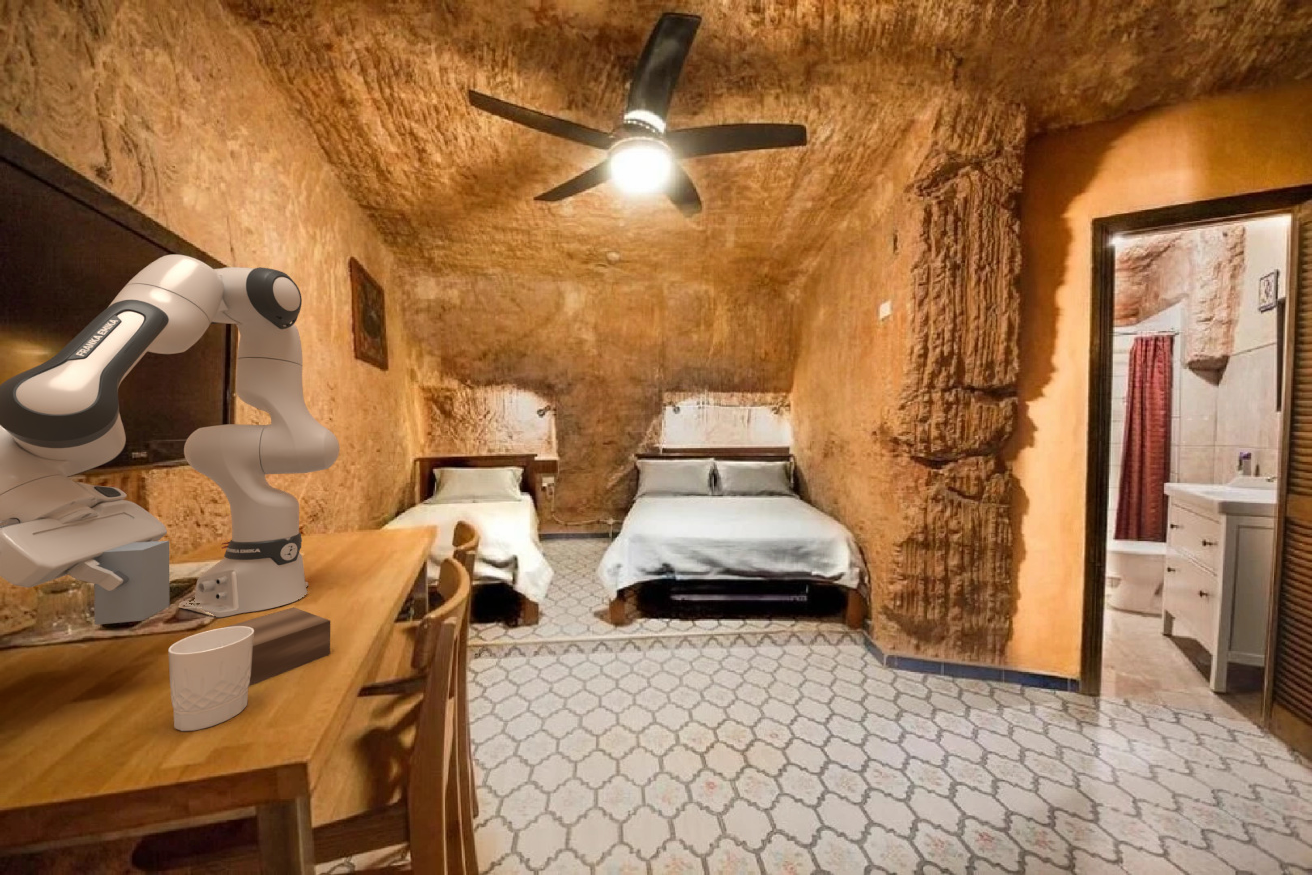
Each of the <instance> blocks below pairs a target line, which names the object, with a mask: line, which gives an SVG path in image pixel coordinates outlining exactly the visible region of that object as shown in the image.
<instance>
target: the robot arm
mask: <svg viewBox="0 0 1312 875" xmlns="http://www.w3.org/2000/svg"><path fill="white" fill-rule="evenodd" d="M302 302H303V301H302V294H301V291H300V288H299V286H298V285H297V284H296V282H295V281H294V280H293V279H292V278H291V277H290V276H289V275H288V274H287V273H285V272H284V271H281V270H278V269H274V268H269V267H259V266H258V267H255V268H252V267H242V266H241V267H240V266H239V267H238V266H237V267H236V266H233V267H232V266H231V267H230V266H229V267H227V266H225V267H222V268H213V267H212V266H209V265H208V264H206V263H205V262H204V261H202V260H199V259H197V258H194V257H192V256H189V255H183V254H167V255H163V256H161V257H159V258H157V259H156V260H154V261H153V262H150V263H149V264H148V265H146V267H144V268H143V269H141V270H140V271H139V272H138V273H137V274H136V275H135V276H133V277H132V278H131V279H130V280H129V281H128V282H127V283H126V284H125V285H124V287H123V288H122V289H121V290H120V291H119V292H118V294H117V295H116V296H115V297H114V299H113V300H112V301H111V303H110V304H109V305H108V307H106V308H105V309H104V310H103V311H102V312H100V313H99V314H98V315H97V316H95V318H93V319H92V320H91V321H90V322H89V323H88V324H87V325H86V326H85V327H84V328H83V329H82V330H81V331H80V332H79V333H77V335H75V337H74V338H72V340H70V341H69V342H68V343H67V344H66V345H65V346H64V347H63V348H62V349H61V350H60V351H58V352H57V353H56V354H55V355H54V356H52V357H51V358H50V359H48V360H46V361H45V362H42V363H40V364H39V365H37V366H35V367H32V368H30V369H27V370H25V371H23V372H20V373H18V374H16V375H14V376H12V377H10V378H8V379H7V380H5V381H4V382H2V383H1V384H0V577H1V578H2V579H4V580H5V581H6V582H8V583H10V584H11V585H13V586H18V587H22V588H33V587H35V586H39V585H42V584H45V583H49V582H50V581H53V580H56V579H61V578H63V577H66V576H70V577H72V578H74V579H75V580H77V581H81V582H86V583H90V584H98V585H100V586H101V587H103V588H104V589H106V590H108V591H111V590H114V589H116V588H119V587H121V586H122V585H124V583H126V582H127V581H128V580H129V577H128V576H126V575H124V574H123V573H122V572H120V571H116V572H112V571H110V570H107V569H104V568H102V567H99V566H98V565H99V564H100V563H98V562H97V561H95V560H94V558H95V557H98V556H101V555H102V554H103V552H105V551H108V550H111V549H114V548H117V547H121V546H124V545H127V544H130V543H134V542H155V541H161V539H162V538H163V537H164V536H166V535H167V534H168V530H167V527H166V525H165V524H164V523H163V522H162V521H160V520H159V519H158V518H157V517H155V516H154V515H153V514H151V513H150V512H149V511H147V510H146V509H145V508H143V507H142V506H140V505H139V504H137V503H136V502H134V501H131V500H126V498H127V493H126V492H124V491H123V490H122V489H120V488H118V487H115V486H104V485H103V486H102V485H95V484H89V483H85V482H81V481H76V482H75V481H73V480H72V479H70V478H71V477H73V476H76V475H79V474H81V473H84V472H85V473H86V472H88V471H91V470H93V469H95V468H97V467H100V466H104V465H106V464H107V463H110V462H111V461H113V460H114V459H116V458H117V457H119V455H121V453H122V452H123V450H124V449H125V446H126V443H127V437H126V432H125V429H124V428H125V427H124V424H123V422H122V418H121V414H120V405H119V394H118V393H119V387H120V385H121V383H122V382H123V381H124V379H125V378H126V377H127V376H128V375H129V373H130V372H131V371H132V370H133V369H134V367H135V366H136V365H137V364H138V363H139V362H140V361H141V359H142V358H143V357H144V356H145V354H146V353H148V352H149V353H154V354H162V355H172V354H173V355H174V354H180V353H185V352H186V351H187V350H189V349H191V347H192V346H194V345H195V344H196V343H197V342H198V341H199V340H200V339H201V338H202V337H203V335H204V334H205V333H206V332H207V330H208V328H209V327H210V325H211V324H212V325H213V324H214V325H215V324H231V325H233V324H234V325H235V326H236V327H237V329H238V331H239V335H240V337H239V341H238V347H237V348H238V349H237V353H236V354H237V356H236V359H237V360H236V374H235V393H236V395H237V396H238V398H239V399H240V400H241V401H242V402H243V403H245V404H246V405H248V406H251V407H253V408H255V409H258V410H260V411H262V412H265V413H268V415H269V416H270V422H271V423H269V424H232V423H231V424H230V423H229V424H221V425H220V424H219V425H212V426H211V425H210V426H203V427H199V428H197V429H196V430H194V431H193V432H192V433H191V434H190V435H189V436H188V437H187V439H186V441H185V442H184V446H183V447H184V448H183V455H184V458H185V461H187V463H188V465H189V466H190V467H191V468H192V469H193V470H195V471H196V472H198V473H200V474H202V475H204V476H206V477H207V478H208V479H210V480H212V481H213V483H215V484H216V485H217V486H218V487H219V488H220V489H221V490H222V492H223V493H224V495H225V497H226V499H227V501H228V504H229V507H230V515H231V516H230V517H231V540H230V541H227V542H222V543H221V545H223V546H222V547H221V549H226V550H225V553H224V555H223V559H221V560H220V561H218V562H217V563H215V565H213V566H212V567H210V568H209V569H208V570H206V571H205V572H203V573H202V574H201V575H200V576H199V577H198V578H197V581H196V584H195V585H196V586H195V592H194V593H195V595H194V596H195V599H194V601H195V602H194V601H191V602H189V601H184V600H182V601H181V602H179V604H181V605H185V606H191V607H202V608H200V609H202V610H204V611H205V612H209V613H211V614H213V615H214V616H216V617H215V618H223V617H229V616H234V615H237V614H242V613H243V614H245V613H250V612H258V611H264V610H269V609H273V608H277V607H280V606H284V605H288V604H292V603H293V602H297V601H298V599H299V600H301V599H303V598H304V597H305V596H304V595H306V594H307V595H308V593H307V592H308V588H307V589H306V587H307V586H308V587H309V582H308V581H306V578H305V577H306V576H305V569H304V561H303V554H301V553H300V550H301V549H302V542H303V538H302V533H301V532H300V502H299V500H298V499H297V498H296V497H295V496H294V495H293V494H291V493H289V492H287V491H285V490H282V489H279V488H275V487H273V486H272V485H270V483H269V482H268V480H267V478H266V475H283V474H284V475H287V474H289V475H290V474H291V475H292V474H294V475H295V474H309V473H313V472H318V471H319V472H320V471H325V470H328V469H330V468H331V467H332V466H333V465H334V464H335V462H336V461H337V459H338V457H339V454H340V448H341V447H340V442H339V441H338V440H339V439H338V438H337V437H336V435H335V434H334V433H333V431H332V430H329V428H327V427H325V426H324V425H322V424H321V423H320V422H318V421H317V419H315V417H314V416H313V415H312V414H311V413H310V411H309V409H308V407H307V405H306V402H305V399H304V390H303V348H302V347H303V346H302V341H301V337H300V332H299V330H298V328H297V326H296V325H295V323H296V322H297V319H298V316H299V315H300V311H301V309H302V304H303V303H302ZM307 595H306V596H307ZM302 597H303V598H302ZM186 603H187V604H186ZM189 603H200V604H199V605H198V606H197V605H195V606H194V605H193V604H192V605H191V604H189ZM179 604H178V605H179ZM214 616H213V617H214Z"/></svg>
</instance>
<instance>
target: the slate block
mask: <svg viewBox="0 0 1312 875" xmlns="http://www.w3.org/2000/svg"><path fill="white" fill-rule="evenodd" d="M94 560H95V561H97V562H98V563H100V564H99V565H98V566H99V567H102V568H104V569H107V570H110V571H112V572H116V571H120V572H122V573H123V574H124V575H126V576H128V577H129V580H128V581H127V582H126V583H124V585H122V586H121V587H119V588H116V589H114V590H111V591H108V590H106V589H104V588H103V587H101V586H100V585H98V584H94V583H93V584H94V626H96V625H98V626H99V625H105V624H118V623H119V624H120V623H130V622H140V621H142V622H143V621H145V620H147V619H149V618H151V617H152V616H154V615H156V614H158V613H160V612H161V611H163V610H165V609H168V608H169V607H170V540H159V541H155V542H134V543H130V544H127V545H124V546H121V547H117V548H114V549H111V550H108V551H105V552H103V554H102V555H101V556H98V557H95V558H94Z"/></svg>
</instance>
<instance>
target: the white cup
mask: <svg viewBox="0 0 1312 875" xmlns="http://www.w3.org/2000/svg"><path fill="white" fill-rule="evenodd" d="M224 627H225V628H223V627H220V628H214V629H210V630H207V631H202V632H199V633H195V634H193V635H189V636H186V637H185V638H182V639H180V640H178V641H176V642H174V643H173V644H171V645H170V647H169V648H168V649H167V650H168V668H169V669H168V670H169V687H170V699H171V706H172V708H173V710H172V711H173V721H174V722H173V726H174V729H176V730H178V731H180V732H189V731H190V732H191V731H199V730H203V729H206V728H211V727H214V726H216V725H219V724H222V723H224V722H226V721H228V720H230V719H233V717H235V716H237V715H238V714H240V713H241V712H242V711H243V710H244V709H245V708H246V707H247V706H248V696H249V687H250V686H249V683H250V676H251V667H252V653H253V639H254V629H253V628H251V627H246V626H234V627H227V626H224ZM248 686H249V687H248Z"/></svg>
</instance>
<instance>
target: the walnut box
mask: <svg viewBox="0 0 1312 875" xmlns="http://www.w3.org/2000/svg"><path fill="white" fill-rule="evenodd" d="M234 626H246V627H251V628H253V629H254V639H253V653H252V667H251V676H250V683H249V686H248V688H249V687H251V686H253V685H256V684H259V683H261V682H263V681H265V680H268V679H271V678H274V677H276V676H279V675H281V674H284V673H287V672H290V671H291V670H294V669H296V668H299V667H302V666H304V665H307V664H309V663H311V662H315V661H317V660H320V659H322V658H324V657H327V656H329V655H331V620H330V619H327V618H324V617H321V616H320V615H316V614H313V613H310V612H308V611H305V610H303V609H301V608H297V607H294V606H293V607H289V608H287V609H282V610H279V611H276V612H272V613H269V614H266V615H262V616H259V617H258V616H257V617H256V618H251V619H248V620H245V621H241V622H238V623H234V624H230V625H227V626H224V627H222V628H225V627H234Z"/></svg>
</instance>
